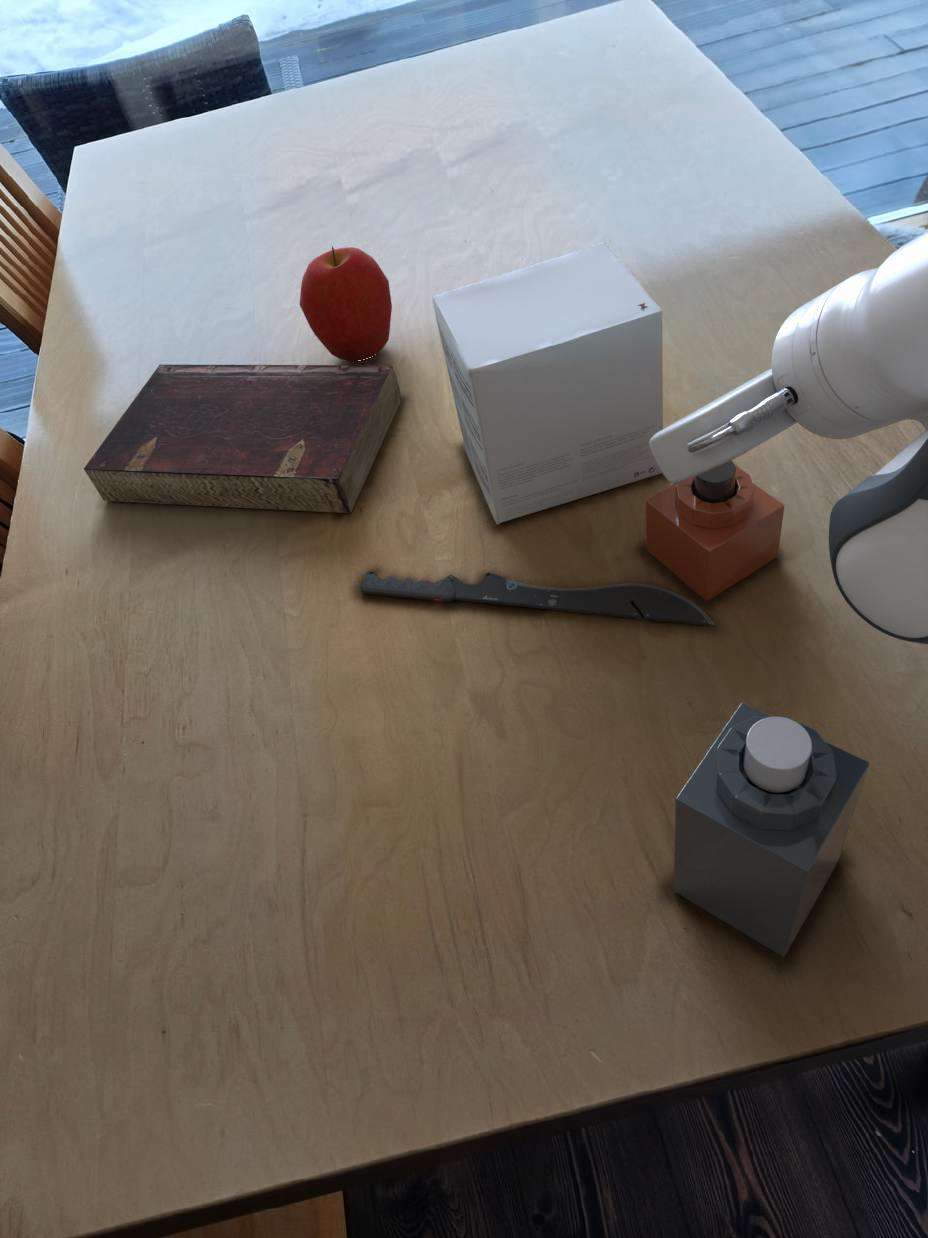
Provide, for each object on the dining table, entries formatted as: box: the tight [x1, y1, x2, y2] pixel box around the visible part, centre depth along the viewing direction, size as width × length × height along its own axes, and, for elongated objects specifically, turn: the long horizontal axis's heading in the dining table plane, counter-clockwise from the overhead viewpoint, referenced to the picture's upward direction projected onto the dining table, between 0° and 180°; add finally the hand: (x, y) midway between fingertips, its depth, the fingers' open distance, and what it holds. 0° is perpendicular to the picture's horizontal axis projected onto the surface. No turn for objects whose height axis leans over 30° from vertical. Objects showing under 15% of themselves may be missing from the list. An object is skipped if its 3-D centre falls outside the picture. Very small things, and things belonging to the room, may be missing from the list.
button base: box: [645, 464, 785, 602], centre depth 80 cm, size 8×8×8 cm
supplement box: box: [432, 241, 664, 526], centre depth 87 cm, size 17×13×18 cm
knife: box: [359, 570, 716, 626], centre depth 82 cm, size 32×4×1 cm, turn 75°
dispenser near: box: [673, 701, 871, 958], centre depth 58 cm, size 8×8×15 cm
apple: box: [299, 245, 393, 364], centre depth 106 cm, size 10×10×14 cm
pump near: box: [744, 716, 812, 793], centre depth 51 cm, size 3×3×3 cm
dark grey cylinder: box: [694, 460, 737, 503], centre depth 76 cm, size 3×3×2 cm
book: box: [83, 364, 402, 514], centre depth 101 cm, size 29×19×5 cm, turn 77°
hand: (730, 416), depth 70 cm, fingers closed
